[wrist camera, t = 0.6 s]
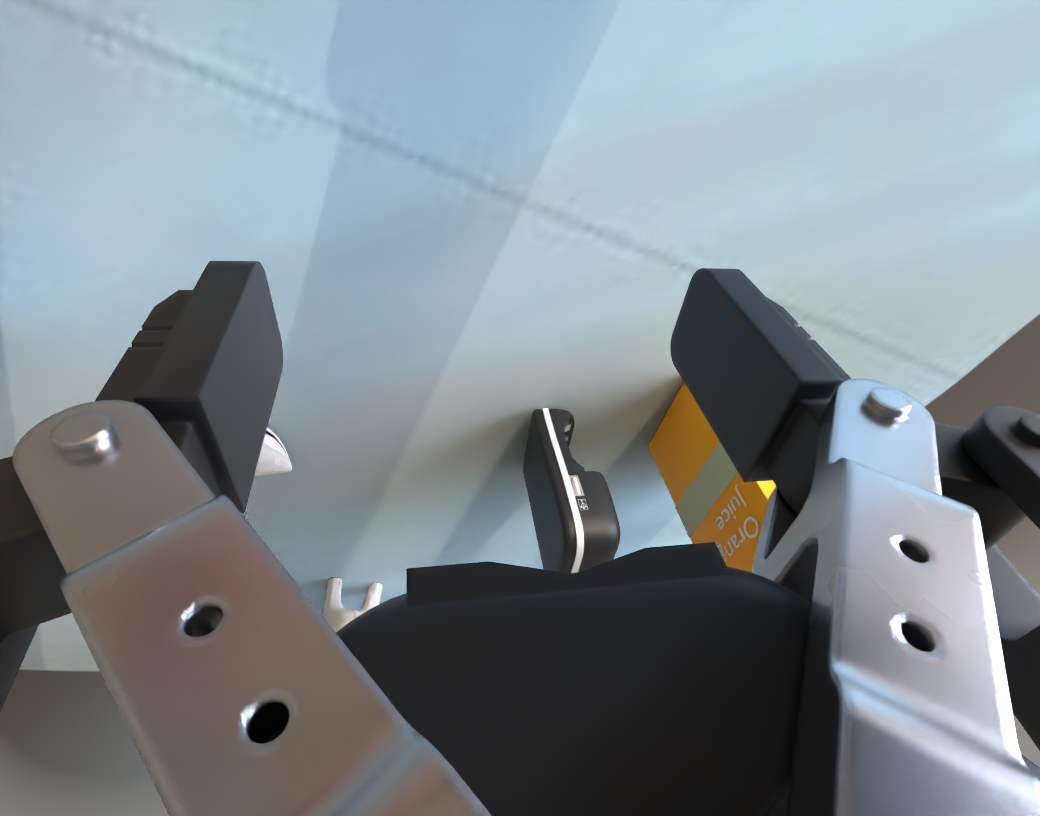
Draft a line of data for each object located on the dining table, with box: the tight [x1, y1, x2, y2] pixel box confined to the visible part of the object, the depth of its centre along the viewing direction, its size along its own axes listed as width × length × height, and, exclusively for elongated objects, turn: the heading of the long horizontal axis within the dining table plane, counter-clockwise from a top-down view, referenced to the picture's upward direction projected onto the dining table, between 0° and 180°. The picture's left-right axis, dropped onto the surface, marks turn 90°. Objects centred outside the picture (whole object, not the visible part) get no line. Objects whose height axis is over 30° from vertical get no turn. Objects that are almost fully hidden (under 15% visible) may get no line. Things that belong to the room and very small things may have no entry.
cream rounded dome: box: [254, 427, 292, 477], centre depth 35 cm, size 4×5×2 cm
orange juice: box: [649, 383, 776, 572], centre depth 34 cm, size 8×9×20 cm
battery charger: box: [523, 408, 620, 573], centre depth 36 cm, size 7×4×11 cm, turn 174°
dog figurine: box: [322, 577, 383, 632], centre depth 46 cm, size 5×13×11 cm, turn 149°
